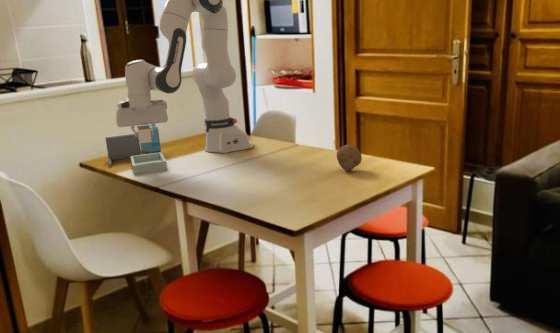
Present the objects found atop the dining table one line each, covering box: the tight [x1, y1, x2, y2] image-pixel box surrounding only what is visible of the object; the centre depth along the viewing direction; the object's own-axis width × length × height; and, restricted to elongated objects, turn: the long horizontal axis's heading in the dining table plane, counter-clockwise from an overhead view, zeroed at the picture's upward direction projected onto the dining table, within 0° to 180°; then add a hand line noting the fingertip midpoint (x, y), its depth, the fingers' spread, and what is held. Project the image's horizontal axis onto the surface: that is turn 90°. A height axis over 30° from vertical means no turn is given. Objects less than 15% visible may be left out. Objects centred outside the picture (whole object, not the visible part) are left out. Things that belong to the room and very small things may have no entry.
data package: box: [139, 124, 162, 154], centre depth 241 cm, size 12×4×12 cm, turn 40°
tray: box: [130, 151, 168, 175], centre depth 215 cm, size 13×17×4 cm
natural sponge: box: [336, 144, 363, 172], centre depth 190 cm, size 9×9×10 cm
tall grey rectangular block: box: [136, 124, 152, 143], centre depth 211 cm, size 4×9×6 cm, turn 19°
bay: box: [105, 132, 142, 168], centre depth 225 cm, size 14×13×11 cm
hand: (144, 135), depth 211 cm, fingers closed on tall grey rectangular block, 4 cm apart
